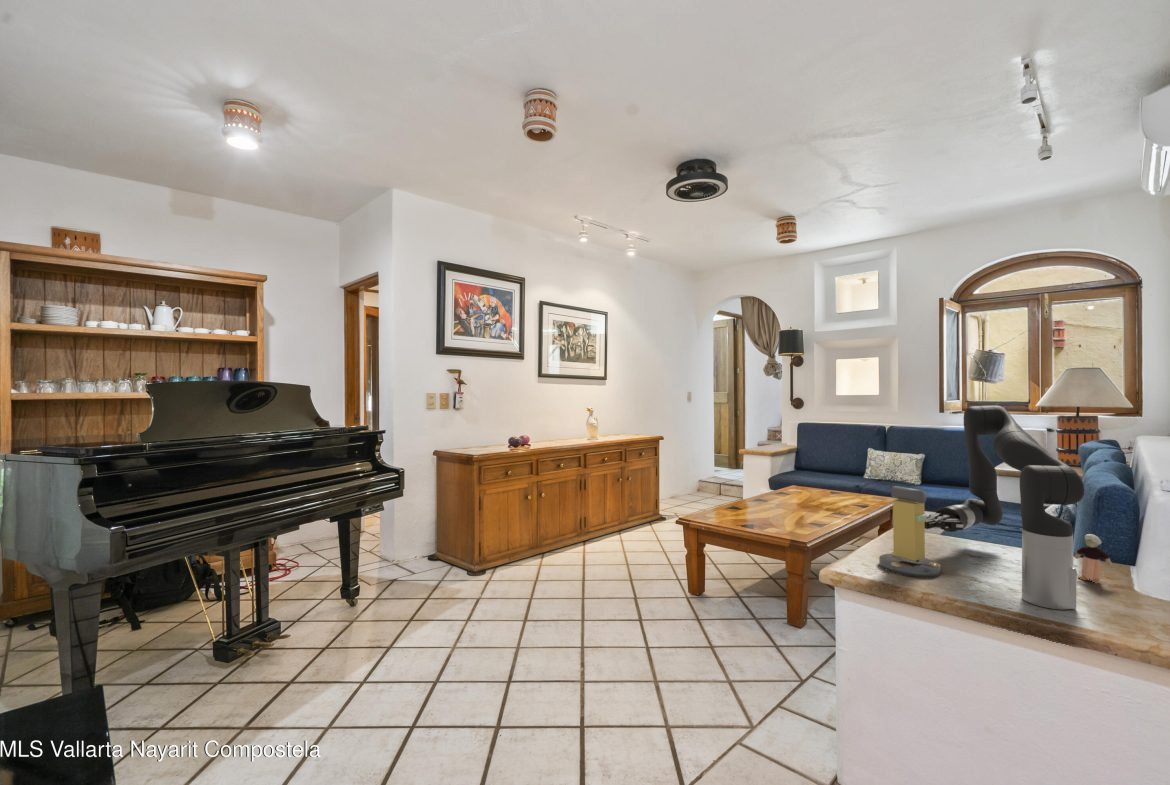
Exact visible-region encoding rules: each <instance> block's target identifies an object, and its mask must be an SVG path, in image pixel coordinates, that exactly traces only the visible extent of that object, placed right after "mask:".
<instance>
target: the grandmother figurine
mask: <svg viewBox="0 0 1170 785" xmlns="http://www.w3.org/2000/svg"><path fill="white" fill-rule="evenodd" d="M1084 540H1085V545H1084V546H1082V547H1080V548H1079V549H1077V550H1076V553H1075V555H1073V558H1075V559H1079V558H1080V557H1081V556H1082V555H1083V558H1082V563H1081V564H1082V566H1081V575H1079V576H1077V579H1078V578H1080V579H1079V580H1081V579H1083V580H1082V581H1089V582H1090V581H1092V582H1091V583H1093V582H1095V583H1094V584H1097V583H1100V581H1101V575H1102V564H1101V559H1102V560H1104V561H1105V562H1106V565H1108V566H1112V565H1113V562H1112V561H1111V558H1110V555H1109V554H1107V553H1106V552H1105V551H1103V550H1101V549H1099V548H1098V546H1099V545H1101V544H1102V540H1101V539H1100V538H1099V536H1097V535H1095V534H1093V533H1091V534H1090V533H1088V534H1085V535H1084ZM1088 579H1090V580H1088ZM1100 584H1101V583H1100Z"/></svg>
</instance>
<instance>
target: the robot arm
mask: <svg viewBox="0 0 1170 785" xmlns="http://www.w3.org/2000/svg"><path fill="white" fill-rule="evenodd" d="M963 428H964V429H963V431H964V438H965V445H966V452H967V459H968V467H969V470H968V471H969V474H968V476H969V478H968V481H969V482H968V488H969V489H968V490H969V492H970V493H971V494H972V495H973V496H974V497H977V498H979V499H977V498H970V497H969V498H966V499H965V500H964V501H963V503H961V504H954V505H953V504H952V505H948V506H944V507H940V508H939V509H938V510H936V512H935V513H933V514H932V513H931V514H929V515H927V514H926V513H925V515H926V520H925V530H931V529H941V530H943V531H945V532H948V533H954V532H957V531H964V530H965V529H968V528H969V527H974V526H977V525H978V524H980V523H982V524H985V525H989V526H996V525H998V524H1000V523H1001V522H1002V519H1003V515H1004V514H1003V508H1002V504H1001V501H1000V499H999V497H998V493H997V469H996V467H995V465H994V464H993V462H992V461H991V460H990V458H989V457H988V456H987V455H986V453H985V452H984V451H983V448H982V447H981V444H980V442H979V436H995V437H994V438H993V440H992V447H993V450H994V452H995V454H996V455H997V456H998V457H999V458H1000V459H1001V460H1002V461H1003V463H1004V464H1006V465H1007V466H1009V467H1011V468H1013V469H1015V470H1017V471H1020V473H1019V474H1020V475H1019V497H1020V516H1021V525H1022V526H1021V527H1022V528H1021V532H1022V533H1021V537H1022V538H1021V542H1022V543H1021V598H1022V600H1024V601H1025V602H1027V603H1030V604H1032V605H1034V606H1038V607H1042V608H1045V609H1052V610H1061V611H1062V610H1064V611H1065V610H1077V579H1078V576H1077V569H1076V568H1075V567H1074V566H1073V567H1072V538H1073V539H1074V533H1073V532H1074V530H1073V529H1074V528H1073V524H1072V523H1071V522H1070V521H1068V520H1066V519H1063V518H1059V517H1057V516H1054V515H1051V514H1049V513H1048V512H1047V511H1046V510H1045V505H1056V506H1057V505H1058V506H1060V505H1061V506H1071V505H1075V504H1077V503H1079V502H1081V500H1082V499H1083V498H1084V496H1085V485H1084V482H1083V480H1082V478H1081V477H1080V475H1079V473H1078V472H1077V471H1076V470H1075V469H1074V468H1072V467H1071V466H1069V465H1068V464H1067V463H1065V462H1063V461H1061V460H1060V459H1058V458H1057V457H1055V456H1054V455H1052V454H1051V453H1050V452H1049V451H1048V450H1046V449H1045V448H1044V447H1043V446H1042V445H1041V444H1039V442H1038V441H1037V440H1036V439H1034V438H1033V437H1032V436H1031V435H1030V434H1029V433H1028V432H1026V431H1025V430H1024V429H1023V428H1022V427H1021V426H1020V425H1019V424H1018V423H1017V422H1016V420H1015V419H1014V418H1013V416H1012V415H1011V414H1010V412H1009V411H1008V410H1007V409H1006V408H1004V407H1003V406H1001V405H997V404H996V405H995V404H994V405H993V404H991V405H977V406H968V407H966V408H965V410H964V413H963Z"/></svg>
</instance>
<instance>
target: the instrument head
mask: <svg viewBox="0 0 1170 785" xmlns="http://www.w3.org/2000/svg"><path fill="white" fill-rule="evenodd" d="M890 494H891V495H890V496H891V497H892V498H893V500H892V502H893V503H892V509H893V510H892V512H893V515H892V516H893V517H892V519H893V520H892V523H893V525H892V526H893V530H892V531H893V533H892V534H893V537H892V538H893V552H894V555H895V556H899V557H901V558H905V559H908V560H912V561H916V562H919V560H920V559H923V558H926V555H925V554H926V553H925V552H926V551H925V550H926V548H925V547H926V544H925V543H926V540H925V538H926V536H925V535H926V534H925V533H926V532H925V530H926V529H925V520H926V516H927V514H926V512H925V503H926V501H927V496H928V494H927V492H926V491H925V490H921V489H916V488H911V487H910V488H909V487H903V486H898V485H893V487H892V488H891V491H890ZM925 514H926V515H925Z"/></svg>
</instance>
